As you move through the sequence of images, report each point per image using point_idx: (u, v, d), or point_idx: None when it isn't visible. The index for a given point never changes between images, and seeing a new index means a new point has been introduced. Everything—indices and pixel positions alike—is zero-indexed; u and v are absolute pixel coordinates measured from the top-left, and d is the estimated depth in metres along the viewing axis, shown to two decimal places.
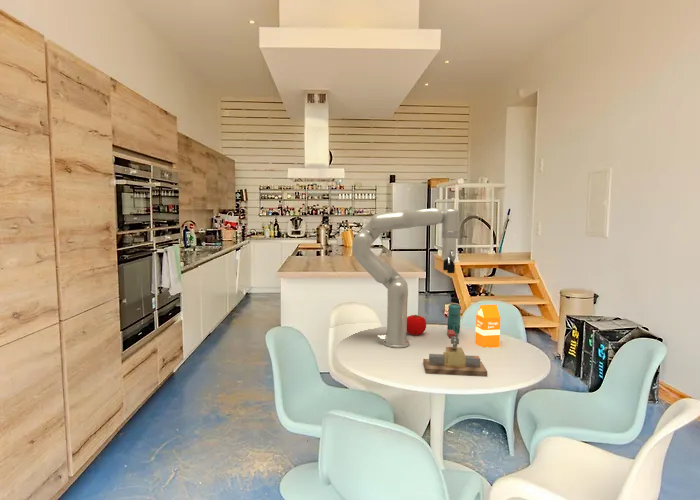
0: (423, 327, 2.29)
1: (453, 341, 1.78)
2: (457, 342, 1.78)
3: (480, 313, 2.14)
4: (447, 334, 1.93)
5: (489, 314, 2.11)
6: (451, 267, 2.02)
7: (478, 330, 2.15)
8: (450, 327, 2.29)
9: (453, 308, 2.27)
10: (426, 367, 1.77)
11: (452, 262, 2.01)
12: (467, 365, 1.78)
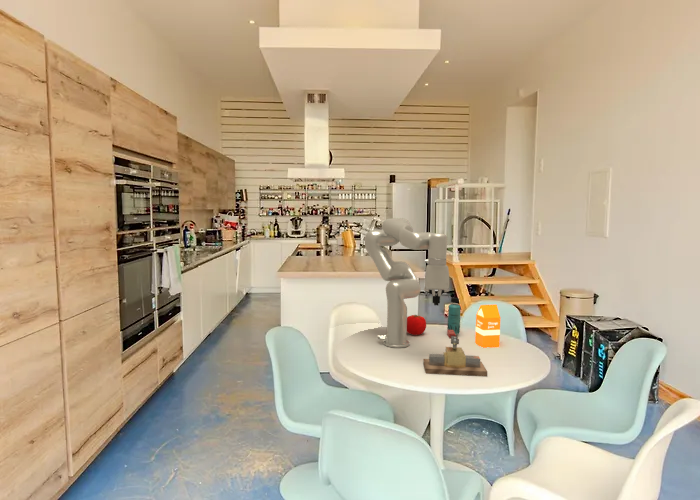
0: (423, 327, 2.29)
1: (453, 341, 1.78)
2: (457, 342, 1.78)
3: (480, 313, 2.14)
4: (447, 334, 1.93)
5: (489, 314, 2.11)
6: (439, 298, 1.89)
7: (478, 330, 2.15)
8: (450, 327, 2.29)
9: (453, 308, 2.27)
10: (426, 367, 1.77)
11: None
12: (467, 365, 1.78)
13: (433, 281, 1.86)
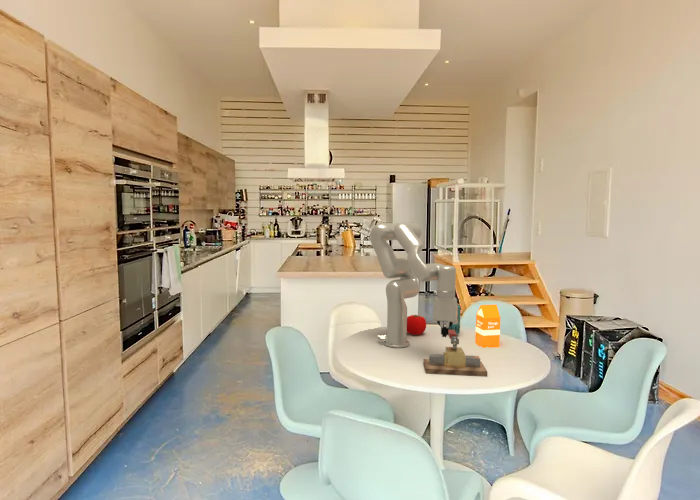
0: (423, 327, 2.29)
1: (453, 341, 1.78)
2: (457, 342, 1.78)
3: (480, 313, 2.14)
4: (448, 334, 1.93)
5: (489, 314, 2.11)
6: None
7: (478, 330, 2.15)
8: (450, 327, 2.29)
9: None
10: (426, 367, 1.77)
11: (450, 325, 1.89)
12: (467, 365, 1.78)
13: (440, 313, 1.87)
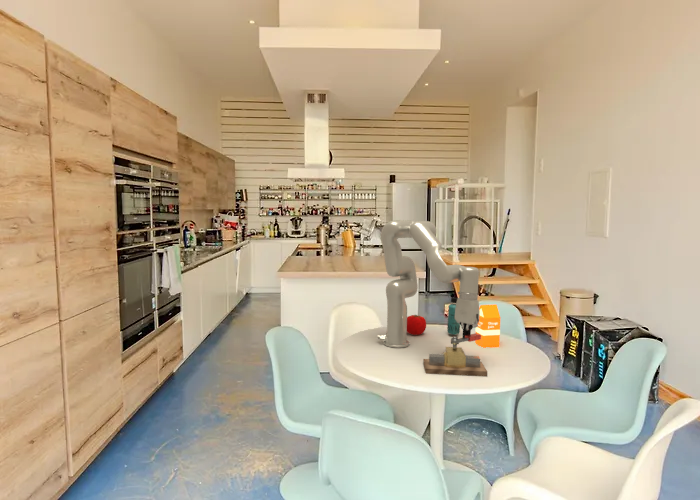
0: (423, 327, 2.29)
1: (451, 340, 1.79)
2: (454, 342, 1.78)
3: (480, 313, 2.14)
4: None
5: (489, 314, 2.11)
6: (469, 333, 1.87)
7: (478, 330, 2.15)
8: (450, 327, 2.29)
9: (454, 308, 2.27)
10: (426, 367, 1.77)
11: (471, 328, 1.86)
12: (467, 365, 1.78)
13: (460, 314, 1.87)
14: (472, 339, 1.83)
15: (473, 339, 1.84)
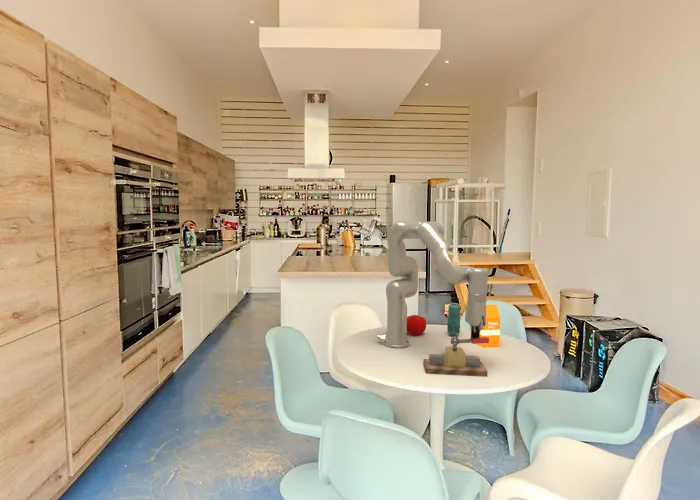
0: (423, 327, 2.29)
1: (451, 340, 1.80)
2: (452, 342, 1.78)
3: None
4: None
5: (489, 314, 2.11)
6: (477, 335, 1.83)
7: None
8: (450, 327, 2.29)
9: (454, 308, 2.27)
10: (426, 367, 1.77)
11: (478, 330, 1.82)
12: (467, 365, 1.78)
13: (468, 315, 1.85)
14: (477, 341, 1.80)
15: (478, 342, 1.80)
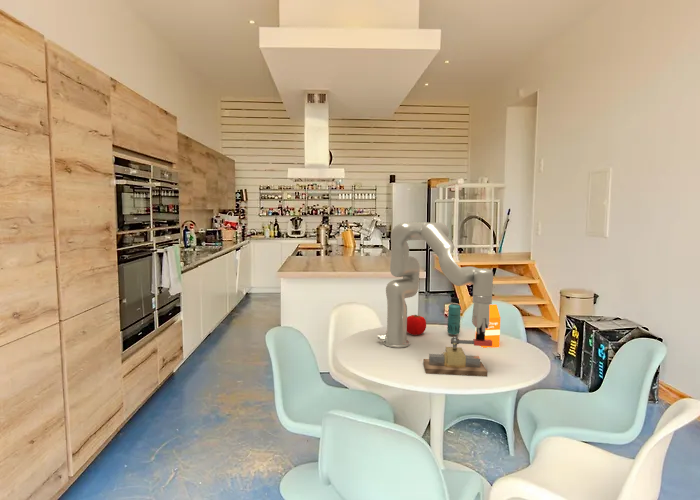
0: (423, 327, 2.29)
1: None
2: (451, 341, 1.79)
3: None
4: None
5: (489, 314, 2.11)
6: (481, 337, 1.80)
7: None
8: (450, 327, 2.29)
9: (454, 308, 2.27)
10: (426, 367, 1.77)
11: (482, 332, 1.79)
12: (467, 365, 1.78)
13: (473, 317, 1.82)
14: (478, 343, 1.77)
15: (480, 344, 1.77)
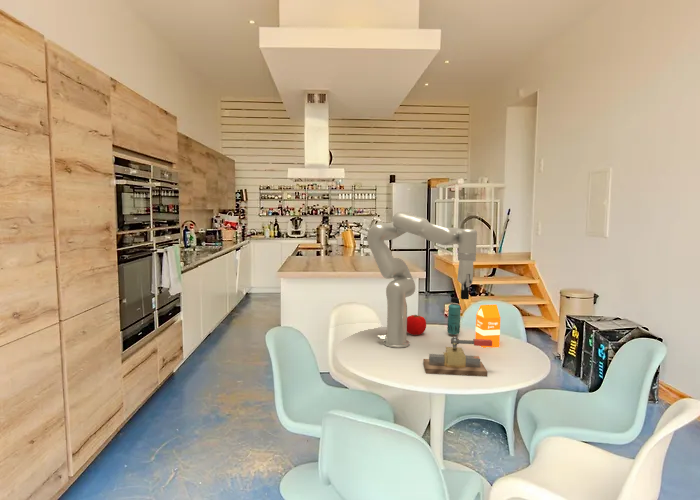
0: (423, 327, 2.29)
1: None
2: (451, 341, 1.79)
3: (480, 313, 2.14)
4: None
5: (489, 314, 2.11)
6: (465, 293, 1.91)
7: (478, 330, 2.15)
8: (450, 327, 2.29)
9: (454, 308, 2.27)
10: (426, 367, 1.77)
11: (466, 288, 1.90)
12: (467, 365, 1.78)
13: (458, 274, 1.94)
14: (478, 344, 1.77)
15: (480, 344, 1.77)
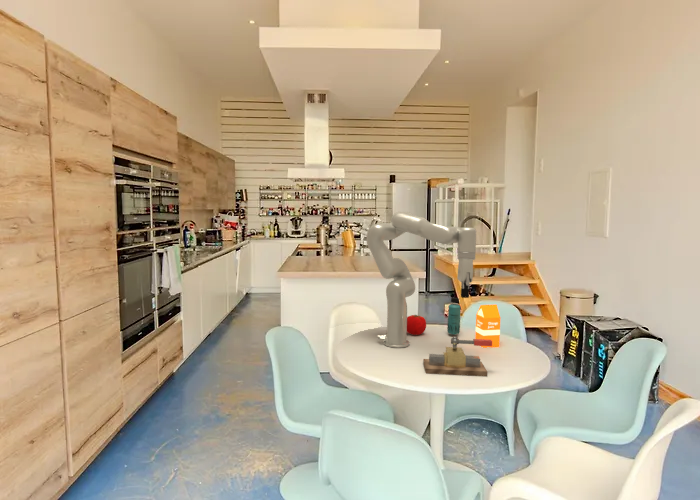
0: (423, 327, 2.29)
1: None
2: (451, 341, 1.79)
3: (480, 313, 2.14)
4: None
5: (489, 314, 2.11)
6: (465, 292, 1.92)
7: (478, 330, 2.15)
8: (450, 327, 2.29)
9: (454, 308, 2.27)
10: (426, 367, 1.77)
11: (466, 286, 1.90)
12: (467, 365, 1.78)
13: (458, 273, 1.94)
14: (478, 344, 1.77)
15: (480, 344, 1.77)
